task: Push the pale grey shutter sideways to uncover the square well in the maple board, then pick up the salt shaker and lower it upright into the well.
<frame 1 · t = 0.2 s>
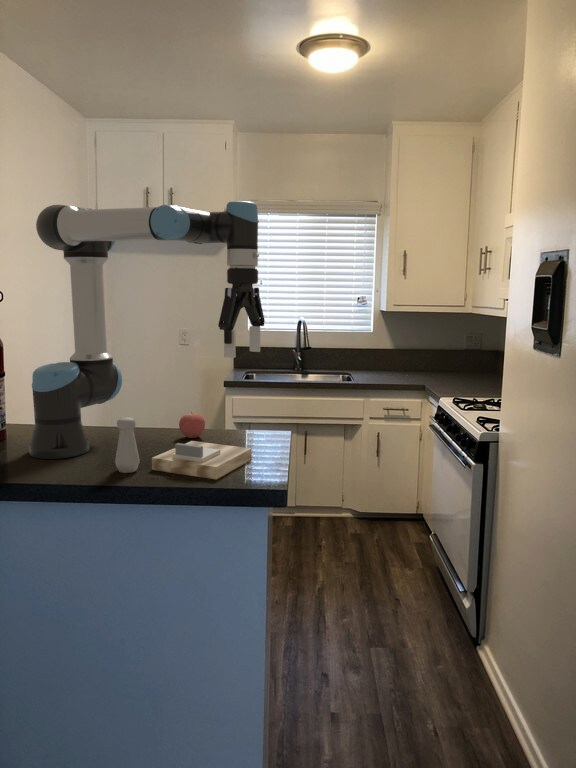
hand: (242, 354, 156), 28 cm above the countertop, fingers open, 13 cm apart
shutter: (196, 448, 154), point 5 cm above the countertop, slide at 0.0 cm
apple: (192, 438, 184), on the countertop
socket board: (203, 464, 157), on the countertop
salt shaker: (127, 471, 152), on the countertop
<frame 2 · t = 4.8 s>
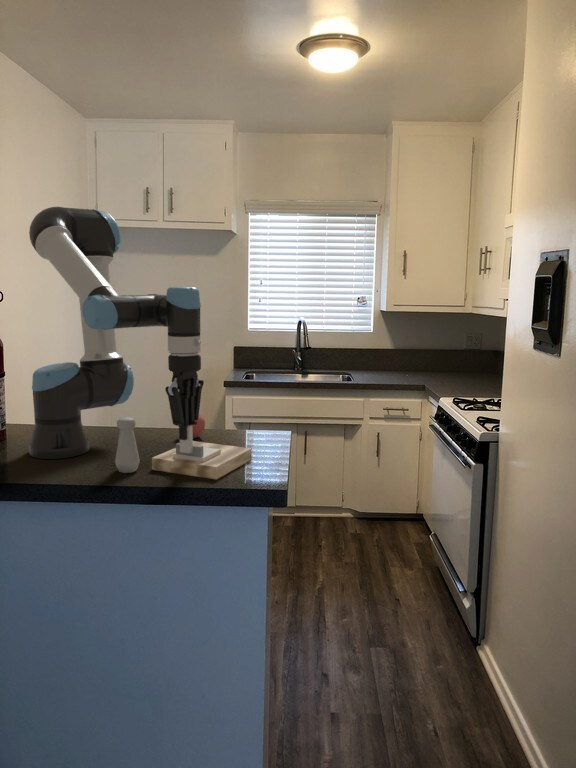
hand: (186, 451, 150), 5 cm above the countertop, fingers closed
shutter: (197, 448, 154), point 5 cm above the countertop, slide at 0.2 cm, touching gripper
everything else where it was.
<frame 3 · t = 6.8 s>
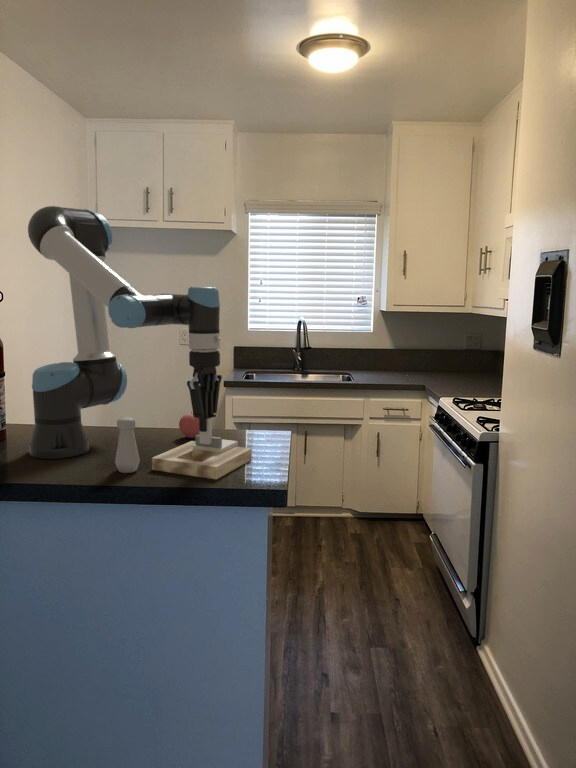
hand: (205, 443, 158), 5 cm above the countertop, fingers closed
shutter: (215, 440, 162), point 5 cm above the countertop, slide at 9.1 cm, touching gripper
everything else where it was.
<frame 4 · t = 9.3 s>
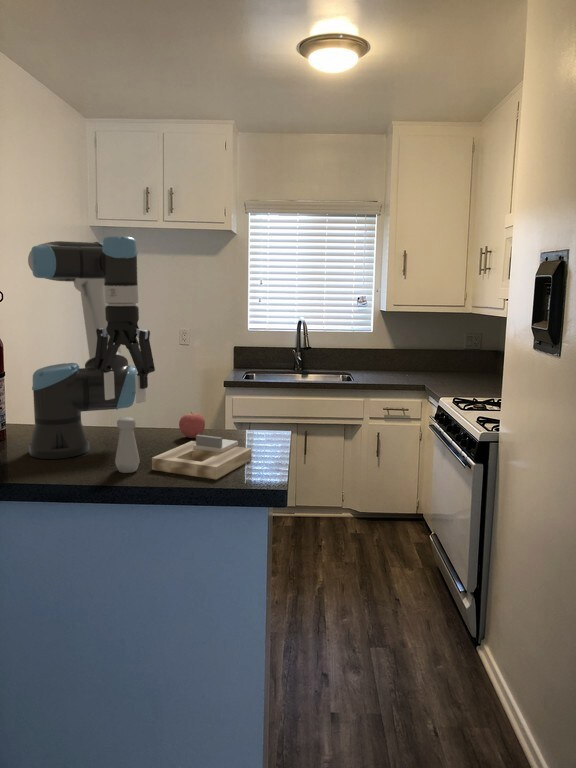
hand: (125, 400, 149), 17 cm above the countertop, fingers open, 8 cm apart
shutter: (215, 440, 162), point 5 cm above the countertop, slide at 9.3 cm
everything else where it was.
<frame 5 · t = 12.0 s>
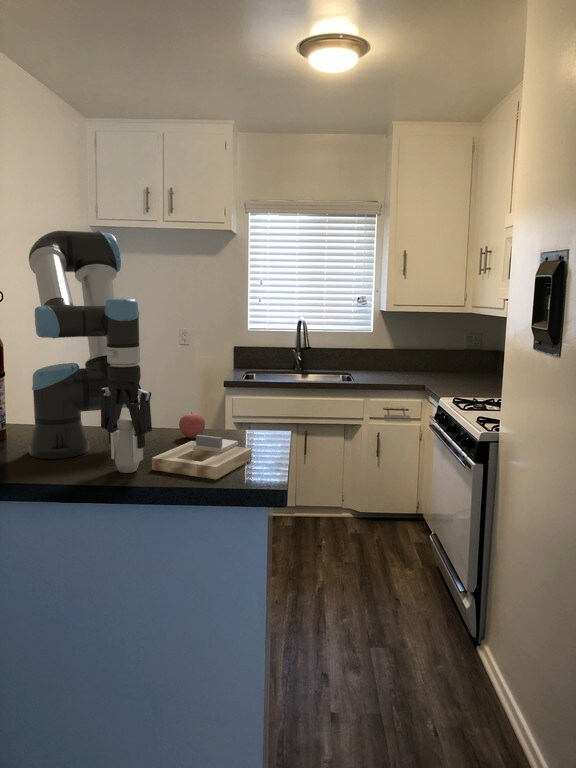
hand: (127, 459, 152), 3 cm above the countertop, fingers closed on salt shaker, 6 cm apart
salt shaker: (127, 471, 152), on the countertop, touching gripper
everything else where it was.
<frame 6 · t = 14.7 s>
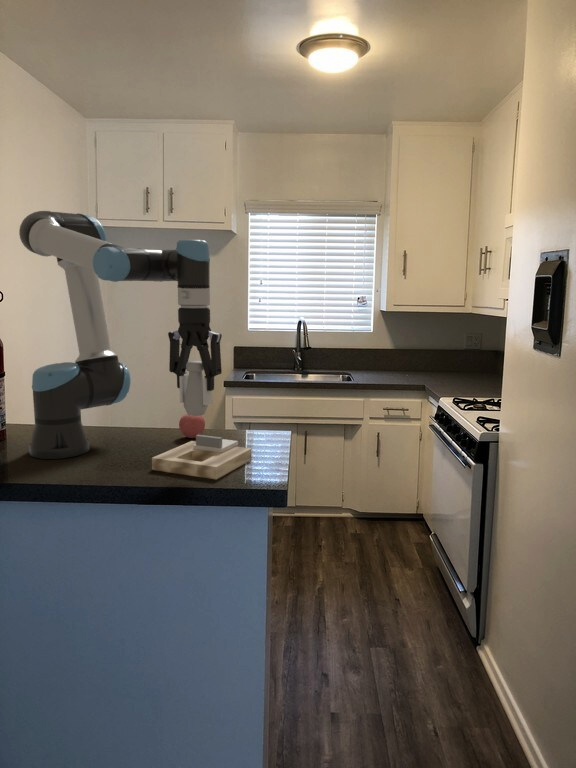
hand: (195, 402, 152), 16 cm above the countertop, fingers closed on salt shaker, 6 cm apart
salt shaker: (195, 414, 152), point 13 cm above the countertop, touching gripper
everything else where it was.
when the fingers open (5 cm above the countertop, at t = 17.4 s): salt shaker drops 2 cm, resting in socket board.
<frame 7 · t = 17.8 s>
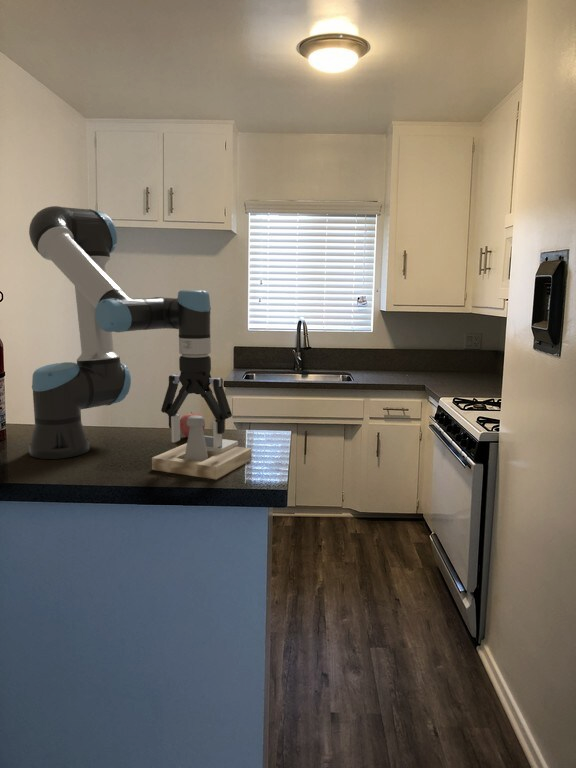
hand: (196, 443, 154), 6 cm above the countertop, fingers open, 11 cm apart
salt shaker: (196, 468, 155), resting in socket board
everything else where it was.
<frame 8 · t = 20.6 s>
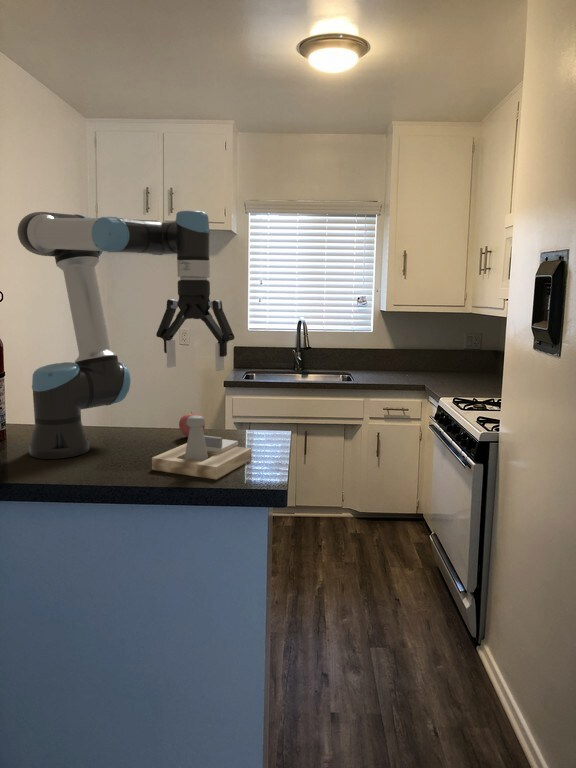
hand: (195, 368, 151), 25 cm above the countertop, fingers open, 13 cm apart
nothing on the countertop moved.
at the end: shutter slide at 9.3 cm; salt shaker 0.1 cm from the target spot on the socket board, point 0.0 cm above the socket board's base; salt shaker tilted 0° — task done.
